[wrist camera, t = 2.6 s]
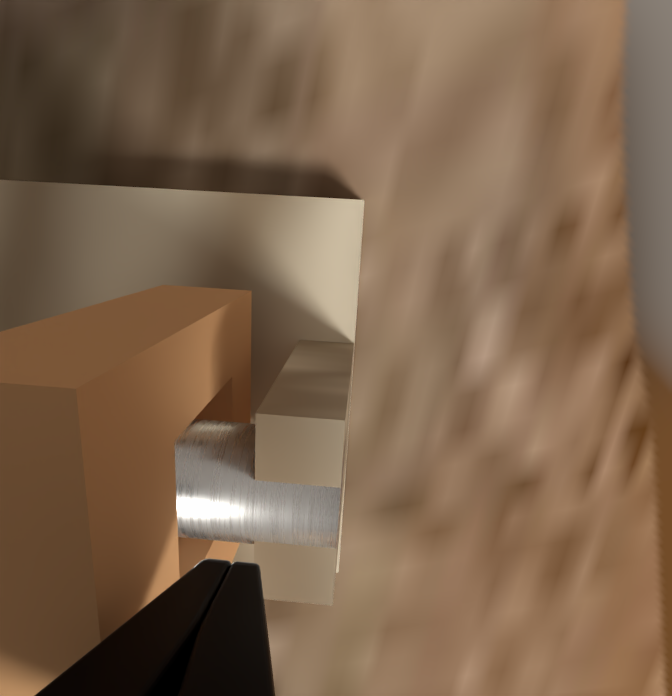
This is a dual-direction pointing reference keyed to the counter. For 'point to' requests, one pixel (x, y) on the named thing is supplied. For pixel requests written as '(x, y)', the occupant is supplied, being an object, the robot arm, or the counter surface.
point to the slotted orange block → (105, 464)
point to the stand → (224, 273)
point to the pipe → (245, 492)
